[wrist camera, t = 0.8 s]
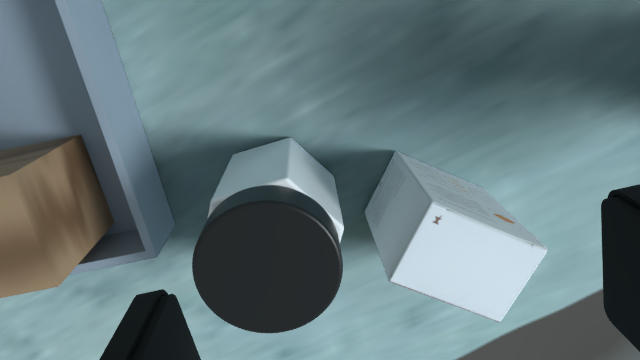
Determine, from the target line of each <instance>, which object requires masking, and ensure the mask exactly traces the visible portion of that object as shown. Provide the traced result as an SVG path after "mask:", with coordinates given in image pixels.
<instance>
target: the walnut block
mask: <svg viewBox="0 0 640 360" xmlns="http://www.w3.org/2000/svg"><path fill="white" fill-rule="evenodd" d="M114 223H115V222H114V220H113V217H112V214H111V212H110V209H109V206H108V204H107V201H106V198H105V196H104V193H103V190H102V188H101V185H100V183H99V180H98V177H97V175H96V172H95V169H94V167H93V164H92V161H91V159H90V156H89V153H88V151H87V148H86V145H85V143H84V140H83V137H82V135H81V134H80V135H75V136H70V137H66V138H61V139H56V140H51V141H46V142H42V143H37V144H32V145H27V146H22V147H17V148H13V149H8V150H3V151H0V298H3V297H8V296H13V295H18V294H23V293H28V292H33V291H38V290H43V289H48V288H53V287H58V286H59V285H60V284H61V283H62V282H63V281H64V280H65V278H66V277H67V276H68V275H69V274H70V273H71V272H72V270H73V269H74V268H75V267H76V266H77V265H78V264H79V263H80V261H81V260H82V259H83V258H84V257H85V256H86V255H87V253H88V252H89V251H90V250H91V249H92V248H93V247H94V245H95V244H96V243H97V242H98V241H99V240H100V239H101V237H102V236H103V235H104V234H105V233H106V232H107V231H108V229H109V228H110V227H111V226H112V225H113V224H114Z"/></svg>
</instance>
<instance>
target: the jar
mask: <svg viewBox="0 0 640 360" xmlns="http://www.w3.org/2000/svg"><path fill="white" fill-rule="evenodd" d="M343 231H344V224H343V219H342V214H341V209H340V204H339V199H338V194H337V189H336V184H335V179H334V176H333V175H332V174H331V173H330V172H329V171H328V170H327V169H325V168H324V167H323V166H322V165H321V164H320V163H319V162H318V161H316V160H315V159H314V158H313V157H312V156H311V155H310V154H309V153H308V152H306V151H305V150H304V149H303V148H302V147H301V146H300V145H299V144H298V143H296V142H295V141H294V140H293V139H292V138H286V139H283V140H279V141H276V142H273V143H269V144H266V145H263V146H259V147H256V148H253V149H249V150H246V151H242V152H239V153H236V154H233V155H232V157H231V159H230V161H229V163H228V165H227V167H226V170H225V172H224V174H223V176H222V178H221V180H220V182H219V184H218V186H217V189H216V191H215V193H214V195H213V197H212V199H211V201H210V207H209V212H208V218H207V221H206V223H205V226H204V228H203V230H202V232H201V234H200V237H199V239H198V241H197V244H196V246H195V250H194V254H193V261H192V270H193V277H194V282H195V285H196V288H197V290H198V292H199V294H200V296H201V298H202V299H203V301H204V302H205V304H206V305H207V306H208V307H209V308H210V309H211V310H212V311H213V312H214V313H215V314H216V315H217V316H219V317H220V318H221V319H223V320H224V321H226V322H228V323H229V324H231V325H233V326H236V327H238V328H241V329H244V330H248V331H252V332H258V333H279V332H285V331H289V330H293V329H296V328H299V327H301V326H303V325H305V324H307V323H309V322H311V321H312V320H314V319H315V318H317V317H318V316H319V315H320V314H322V313H323V312H324V311H325V310H326V309H327V307H328V306H329V305H330V304H331V302H332V301H333V299H334V298H335V296H336V294H337V292H338V289H339V287H340V283H341V279H342V272H343V262H342V255H341V249H340V241H341V238H342V234H343Z"/></svg>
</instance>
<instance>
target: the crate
mask: <svg viewBox="0 0 640 360" xmlns="http://www.w3.org/2000/svg"><path fill="white" fill-rule="evenodd" d="M80 134H81V135H82V137H83V140H84V143H85V145H86V148H87V151H88V153H89V156H90V159H91V161H92V164H93V167H94V169H95V172H96V175H97V177H98V180H99V183H100V185H101V188H102V190H103V193H104V196H105V198H106V201H107V204H108V206H109V209H110V212H111V214H112V217H113V220H114V222H115V223H114V224H113V225H112V226H111V227H110V228H109V229H108V231H107V232H106V233H105V234H104V235H103V236H102V237H101V239H100V240H99V241H98V242H97V243H96V244H95V245H94V247H93V248H92V249H91V250H90V251H89V252H88V253H87V255H86V256H85V257H84V258H83V259H82V260H81V261H80V263H79V264H78V265H77V266H76V267H75V268H74V269H73V270H72V272H71V273H70V274H75V273H80V272H85V271H90V270H95V269H100V268H105V267H110V266H115V265H120V264H126V263H131V262H136V261H141V260H146V259H151V258H156V257H157V256H158V255H159V253H160V251H161V249H162V248H163V246H164V244H165V242H166V241H167V239H168V237H169V236H170V234H171V232H172V230H173V229H174V227H175V222H174V219H173V216H172V213H171V210H170V207H169V204H168V201H167V198H166V195H165V192H164V189H163V186H162V183H161V180H160V177H159V174H158V171H157V168H156V165H155V162H154V159H153V155H152V152H151V149H150V146H149V143H148V140H147V137H146V134H145V131H144V128H143V125H142V122H141V119H140V116H139V113H138V110H137V107H136V104H135V101H134V98H133V95H132V92H131V89H130V86H129V83H128V80H127V77H126V74H125V71H124V68H123V65H122V62H121V59H120V56H119V53H118V50H117V47H116V44H115V41H114V38H113V35H112V32H111V29H110V26H109V23H108V20H107V17H106V14H105V11H104V8H103V5H102V2H101V0H0V151H3V150H8V149H13V148H17V147H22V146H27V145H32V144H37V143H42V142H46V141H51V140H56V139H61V138H66V137H70V136H75V135H80ZM70 274H69V275H70Z"/></svg>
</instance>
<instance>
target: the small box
mask: <svg viewBox="0 0 640 360" xmlns="http://www.w3.org/2000/svg"><path fill="white" fill-rule="evenodd" d="M365 215H366V218H367V221H368V224H369V226H370V229H371V232H372V235H373V238H374V241H375V244H376V246H377V249H378V252H379V255H380V258H381V261H382V263H383V266H384V269H385V272H386V275H387V277H388V280H389V282H392V283H395V284H398V285H400V286H403V287H405V288H408V289H411V290H414V291H416V292H419V293H422V294H424V295H427V296H430V297H433V298H436V299H438V300H441V301H443V302H446V303H449V304H451V305H454V306H457V307H460V308H462V309H465V310H468V311H471V312H473V313H476V314H478V315H481V316H484V317H486V318H489V319H492V320H495V321H497V322H501V320H502V319H503V317H504V316H505V314H506V313H507V311H508V310H509V308H510V307H511V305H512V304H513V302H514V301H515V299H516V298H517V296H518V295H519V293H520V292H521V290H522V289H523V287H524V286H525V284H526V283H527V281H528V280H529V278H530V277H531V275H532V274H533V272H534V271H535V269H536V268H537V266H538V265H539V263H540V262H541V260H542V259H543V257H544V256H545V255H546V253H547V251H548V250H547V248H546V247H545V246H544V245H543V244H542V243H541V242H540V241H539V240H538V239H537V238H536V237H535V236H534V235H533V234H532V233H530V232H529V231H528V230H527V229H526V228H525V227H524V226H523V225H522V224H521V223H520V222H519V221H518V220H517V219H516V218H515V217H514V216H512V215H511V214H510V213H509V212H508V211H507V210H506V209H505V208H504V207H503V206H502V205H501V204H500V203H499V202H498V201H497V200H496V199H495V198H494V197H492V196H491V195H490V194H489V193H488V192H487V191H486V190H485V189H484V188H482V187H479V186H477V185H475V184H472V183H470V182H468V181H465V180H463V179H461V178H458V177H456V176H453V175H451V174H449V173H446V172H444V171H442V170H439V169H437V168H435V167H432V166H430V165H428V164H425V163H423V162H420V161H418V160H416V159H413V158H411V157H409V156H406V155H404V154H402V153H400V152H398V151H395V153H394V155H393V157H392V159H391V161H390V163H389V165H388V167H387V168H386V170H385V172H384V174H383V176H382V178H381V180H380V182H379V184H378V186H377V188H376V190H375V192H374V194H373V196H372V198H371V200H370V202H369V204H368V206H367V208H366V209H365Z"/></svg>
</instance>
